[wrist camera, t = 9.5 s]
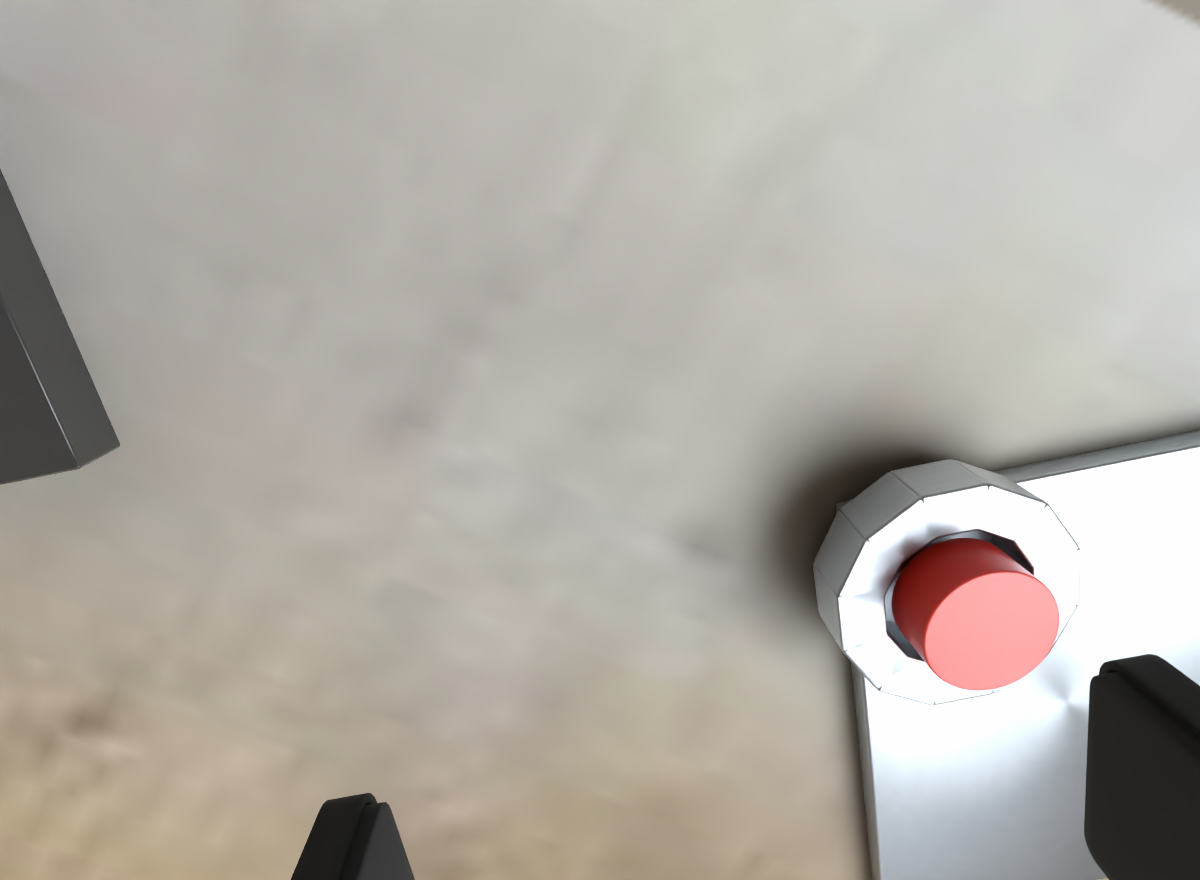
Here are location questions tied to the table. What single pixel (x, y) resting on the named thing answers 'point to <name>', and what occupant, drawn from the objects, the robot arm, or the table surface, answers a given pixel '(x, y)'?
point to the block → (1045, 695)
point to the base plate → (41, 369)
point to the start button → (974, 614)
